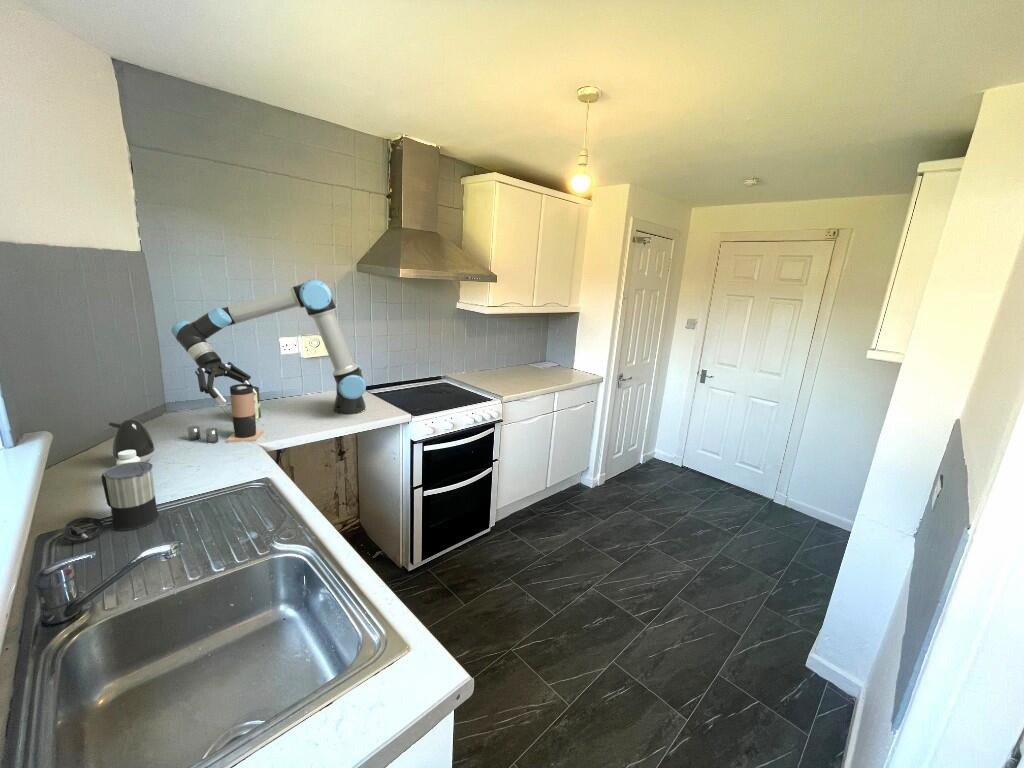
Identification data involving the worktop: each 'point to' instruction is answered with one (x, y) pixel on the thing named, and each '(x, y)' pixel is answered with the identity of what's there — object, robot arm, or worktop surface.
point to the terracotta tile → (253, 438)
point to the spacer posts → (210, 434)
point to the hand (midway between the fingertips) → (239, 399)
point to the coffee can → (257, 404)
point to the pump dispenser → (132, 439)
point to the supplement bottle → (127, 457)
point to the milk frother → (122, 501)
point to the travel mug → (243, 410)
